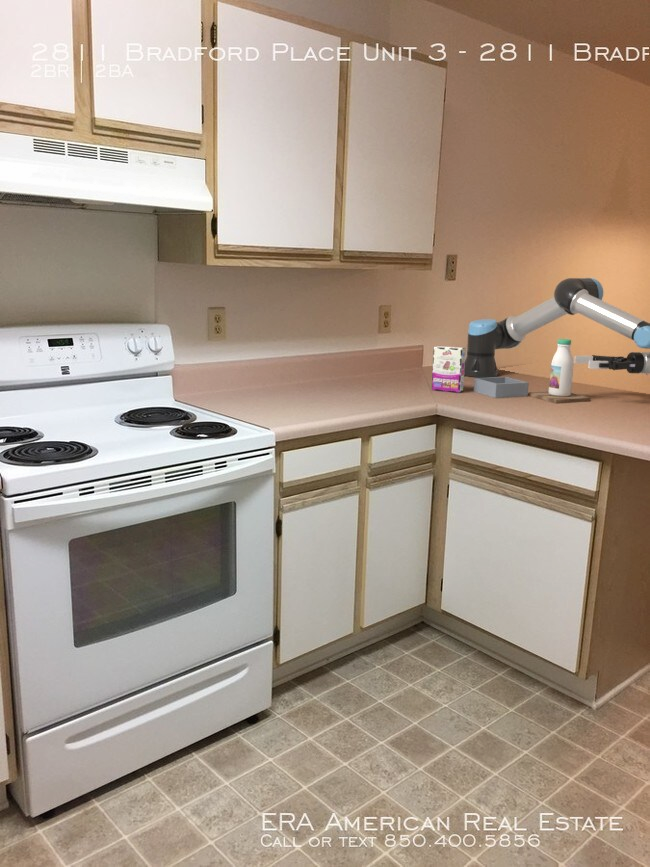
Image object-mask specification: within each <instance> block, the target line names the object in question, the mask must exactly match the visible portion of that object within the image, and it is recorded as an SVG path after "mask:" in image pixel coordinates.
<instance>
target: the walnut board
mask: <svg viewBox="0 0 650 867" xmlns="http://www.w3.org/2000/svg"><path fill="white" fill-rule="evenodd" d="M528 396H529V397H531V398H535V399H539V400H542V401H547V402H550V403H553V404H566V403H581V402H583V403H584V402H591V397H589V396H585V395H581V394H578V393H574V392H571V395H570V396H553V395H550V394H549V390H547V391H533V392H529V391H528Z"/></svg>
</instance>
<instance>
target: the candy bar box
mask: <svg viewBox="0 0 650 867" xmlns="http://www.w3.org/2000/svg"><path fill="white" fill-rule="evenodd" d="M466 353H467V348H466V347H459V346H458V347H457V346H441V345H437V346H434V347H433V353H432V354H433V355H432V375H431V376H432V377H431V378H432V379H431V390H432V391H439V392H449V393H458V394H459V393H462V392H464V386H465V385H464V384H465V375H464V369H465V360H466Z"/></svg>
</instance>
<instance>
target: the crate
mask: <svg viewBox="0 0 650 867" xmlns="http://www.w3.org/2000/svg"><path fill="white" fill-rule="evenodd" d="M473 380H474V381H473V392H475V393H479V394H481V395H484V396H486V397H487V396H488V397H490V398H494V399H499V398H500V399H501V398H502V399H503V398H516V397H519V398H520V397H528V396H529V384H530V383H529V382H527V381H525V380H520V379H516V378H512V377H508V376H496V377H474V379H473Z"/></svg>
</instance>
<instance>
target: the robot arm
mask: <svg viewBox="0 0 650 867" xmlns="http://www.w3.org/2000/svg"><path fill="white" fill-rule="evenodd" d="M603 297H604V288H603V285H602V283H601V282H600V281H599V280H598V279H596V278H592V277H583V278H582V277H581V278H578V277H577V278H576V277H571V278H570V277H569V278H565V279H563V280H561V281H560V282H559V283H558V284H557V285H556V287H555V288H554V293H553V296H552V297H551V298H549V299H547V300H546V301H543V302H542V303H540V304H538V305H536V306H534V307H532V308H531V309H529V310H527V311H525V312H523V313H521V314H519V315H518V316H514V315H510V316H508V317H507V318H504V319H502V320H500V321H497V320H496V319H493V318H491V319H490V318H483V319H482V318H481V319H475V320H472V321H471V322H469V325H468V330H467V345H466V347H467V348H466V356H465V369H464V377H465V376H466V377H471V378H473V377H474V378H488V377H498V366H497V363H496V359H495V352H496V350H502V349H508V350H509V349H512V348H516V347H517V346H519V344H521V343H522V341H523V340H525V338H526V335H528V334H530V333H532V332H535V331H536V330H538V329H540V328H542V327H544V326H546V325H547V324H550V323H552V322H554V321H555V320H558V319H561V318H562V317H564V316H566V315H569V316H574V315H576V314H580V315H582V316H583V317H586V318H588V319H590V320H591V321H594V322H596V323H597V324H600V325H602V326H604V327H606V328H608V329H610V330H611V331H614V332H615V333H617V334H619V335H622V336H624V337H626V338H628V339H629V340H632V341H633V342H634V343H635V345H636V346H637V347H639V348H640V349H646V350H650V322H648V321H646V320H644V319H642V318H639V317H637V316H635V315H633V314H632V313H629V312H627V311H625V310H622V309H621V308H618V307H617V306H615V305H613V304H610V303H608V302H606V301H603ZM573 364H588V369H591V370H613V371H620V370H621V371H622V370H626V371H627V373H628V374H645V375H646V376H649V374H650V352H649V351H648V352H647V351H646V352H644V351H643V352H641V351H639V352H636V351H634V352H633V351H631V352H629V353H628V354H627V356H626V357H625V356H613V355H612V356H611V355H610V356H607V355H595V354H593V355H574V359H573Z"/></svg>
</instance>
